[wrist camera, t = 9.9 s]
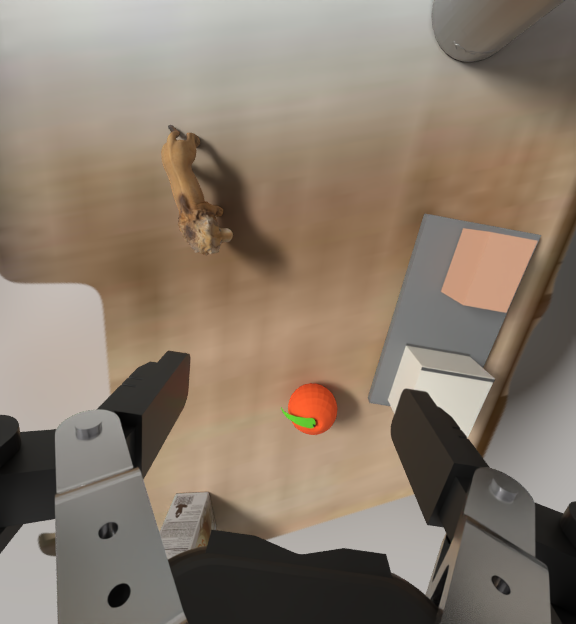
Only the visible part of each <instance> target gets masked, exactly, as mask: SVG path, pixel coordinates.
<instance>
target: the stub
mask: <svg viewBox="0 0 576 624" xmlns="http://www.w3.org/2000/svg"><path fill="white" fill-rule="evenodd" d="M537 242H538V241H537V240H531V239H526V238H520V237H515V236H510V235H504V234H499V233H493V232H487V231H480V230H473V229H466V228H463V230H462V233H461V236H460V239H459V241H458V244H457V247H456V250H455V253H454V256H453V258H452V261H451V264H450V267H449V270H448V273H447V275H446V278H445V281H444V284H443V287H442V290H441V292H442V293H444V294H446V295H447V296H449V297H451V298H452V299H454V300H455V301H457V302H459V303H460V304H462V305H465V306H471V307H477V308H482V309H488V310H493V311H499V312H505V313H506V312H507V310H508V308H509V306H510V303H511V301H512V299H513V296H514V294H515V292H516V290H517V287H518V285H519V283H520V281H521V278H522V276H523V274H524V271H525V269H526V267H527V265H528V262H529V260H530V258H531V255H532V253H533V251H534V249H535V246H536V244H537Z"/></svg>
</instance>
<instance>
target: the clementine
mask: <svg viewBox="0 0 576 624" xmlns="http://www.w3.org/2000/svg"><path fill="white" fill-rule="evenodd" d="M281 409H282V408H281ZM282 411H283V409H282ZM288 412H289V414H288V413H286V412H284V411H283V413H284V414H285V416H286V417H287V418H288V419H290V420H291V421H292V423H293V424H294V426H295V427H296V428H297V429H298V430H300V431H301V432H303V433H306V434H309V435H317V434H321V433H323V432H325V431H327V430H328V429H329V428H330V427H331V426H332V425H333V423H334V421H335V419H336V417H337V404H336V400H335V398H334V396H333V394H332V393H331V392H330V391H329V390H328V389H327V388H325V387H324V386H322V385H319V384H312V383H310V384H305V385H303V386H300V387H299V388H298V389H296V391H295V392H294V393H293V394H292V396H291V398H290V401H289V404H288Z"/></svg>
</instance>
